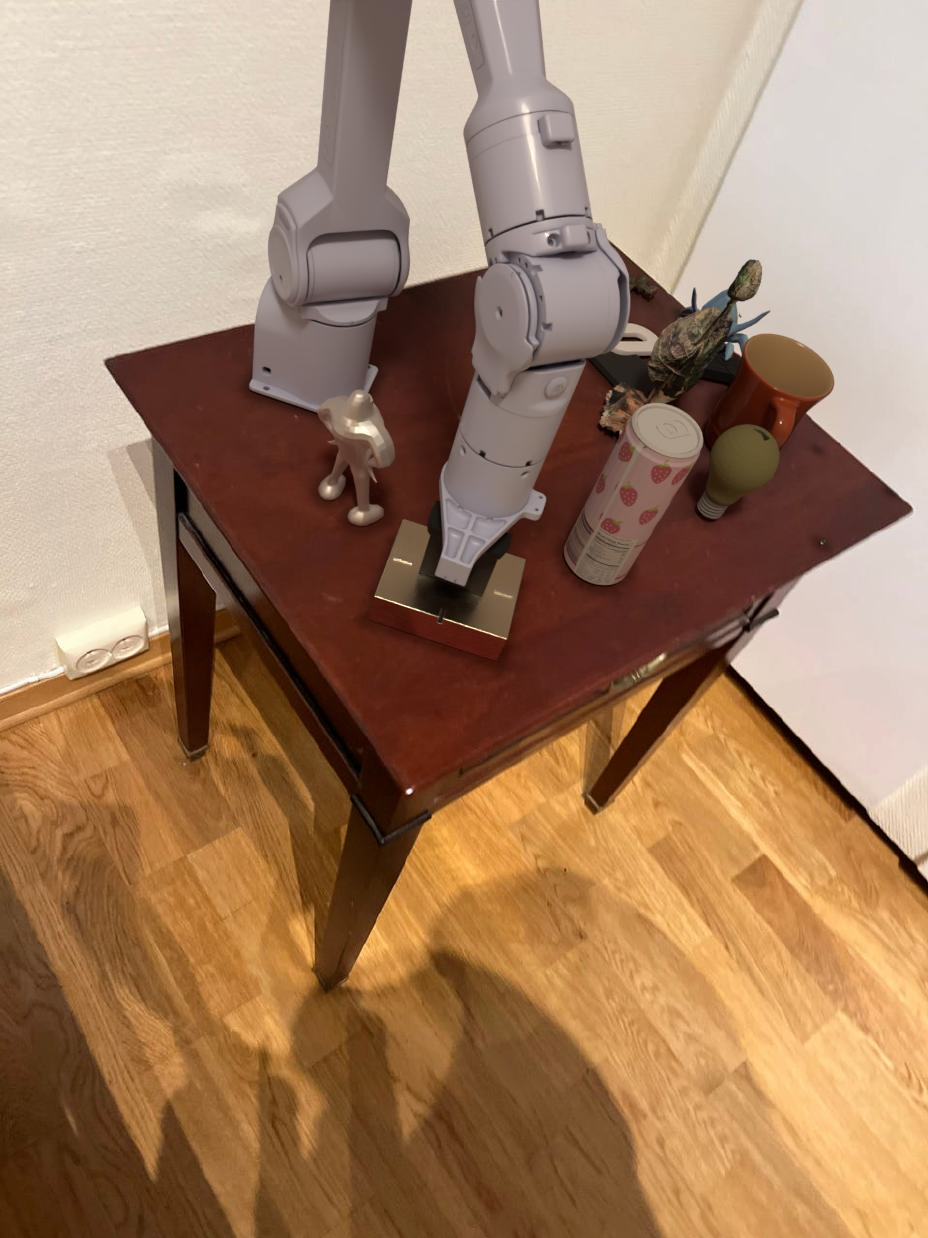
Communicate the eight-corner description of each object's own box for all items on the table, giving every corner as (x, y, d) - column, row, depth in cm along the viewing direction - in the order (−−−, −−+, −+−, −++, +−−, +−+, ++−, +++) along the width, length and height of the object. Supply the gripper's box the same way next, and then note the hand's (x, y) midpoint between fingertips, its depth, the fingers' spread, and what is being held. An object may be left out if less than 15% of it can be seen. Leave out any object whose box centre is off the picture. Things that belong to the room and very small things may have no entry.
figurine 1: (393, 520, 70) (421, 407, 61) (356, 545, 68) (379, 431, 58) (331, 468, 72) (349, 350, 63) (293, 490, 70) (306, 372, 60)
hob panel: (365, 626, 64) (371, 601, 61) (398, 537, 69) (405, 511, 67) (495, 668, 64) (506, 645, 62) (517, 576, 70) (528, 552, 67)
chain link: (612, 351, 88) (588, 322, 90) (610, 356, 88) (585, 327, 91) (670, 350, 92) (645, 322, 94) (667, 355, 92) (642, 327, 95)
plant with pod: (702, 419, 87) (821, 246, 71) (640, 468, 81) (754, 291, 65) (641, 369, 89) (743, 189, 73) (576, 413, 83) (672, 227, 66)
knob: (418, 572, 64) (430, 535, 61) (425, 557, 65) (436, 519, 62) (482, 596, 64) (497, 560, 61) (488, 580, 65) (503, 544, 62)
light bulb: (741, 509, 81) (798, 429, 73) (727, 547, 78) (785, 468, 70) (686, 482, 81) (737, 400, 73) (670, 519, 78) (722, 437, 70)
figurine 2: (715, 328, 100) (763, 275, 94) (737, 404, 94) (790, 353, 88) (648, 299, 96) (694, 242, 90) (667, 377, 90) (717, 321, 84)
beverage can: (638, 562, 74) (720, 432, 62) (605, 599, 71) (684, 469, 59) (584, 523, 75) (654, 388, 63) (549, 558, 72) (616, 423, 60)
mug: (695, 406, 88) (743, 321, 80) (775, 432, 89) (831, 351, 81) (690, 486, 81) (743, 402, 73) (778, 514, 82) (840, 434, 74)
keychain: (617, 334, 91) (678, 397, 87) (615, 340, 92) (675, 402, 88) (582, 343, 89) (642, 408, 85) (579, 349, 89) (640, 413, 85)
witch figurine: (668, 278, 98) (662, 294, 99) (581, 233, 101) (576, 248, 103) (645, 291, 94) (639, 307, 96) (556, 244, 98) (551, 259, 99)
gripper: (540, 539, 49) (481, 666, 59) (588, 387, 58) (529, 522, 68) (422, 493, 49) (384, 629, 59) (488, 349, 57) (445, 490, 68)
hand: (455, 570), depth 64 cm, fingers closed on knob, 2 cm apart
